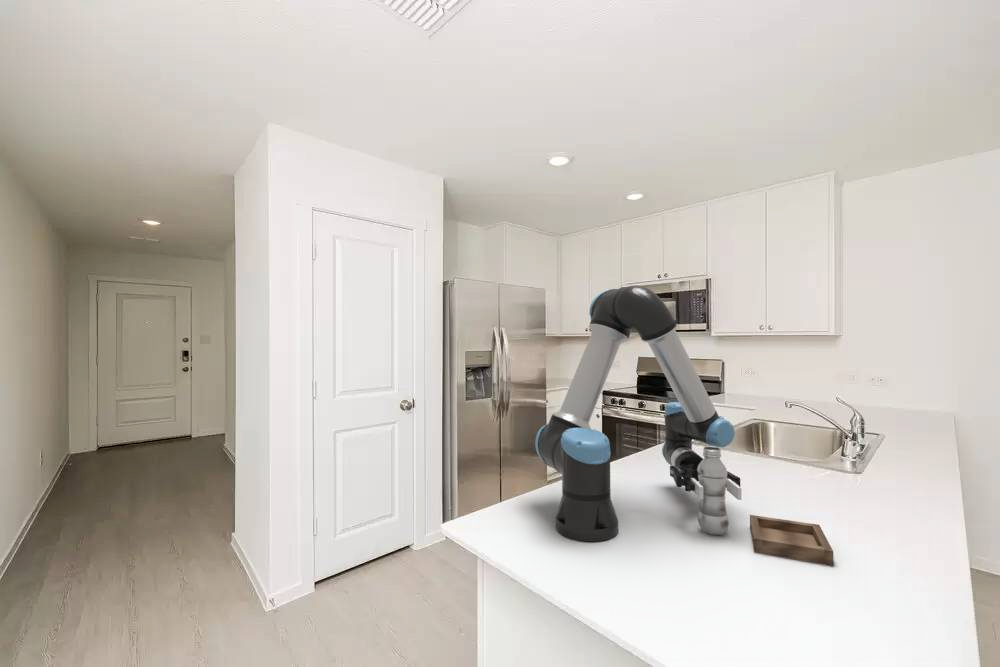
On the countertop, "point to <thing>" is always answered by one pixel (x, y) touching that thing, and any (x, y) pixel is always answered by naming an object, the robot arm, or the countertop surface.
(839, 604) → the countertop surface
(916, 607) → the countertop surface
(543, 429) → the robot arm
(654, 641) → the countertop surface
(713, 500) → the plastic bottle
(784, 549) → the wooden tray
